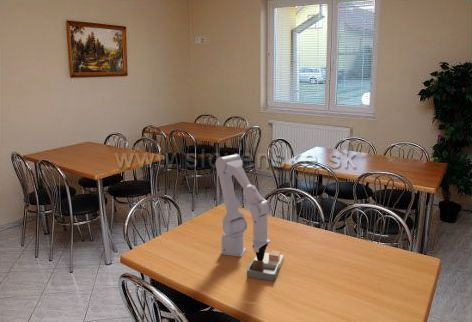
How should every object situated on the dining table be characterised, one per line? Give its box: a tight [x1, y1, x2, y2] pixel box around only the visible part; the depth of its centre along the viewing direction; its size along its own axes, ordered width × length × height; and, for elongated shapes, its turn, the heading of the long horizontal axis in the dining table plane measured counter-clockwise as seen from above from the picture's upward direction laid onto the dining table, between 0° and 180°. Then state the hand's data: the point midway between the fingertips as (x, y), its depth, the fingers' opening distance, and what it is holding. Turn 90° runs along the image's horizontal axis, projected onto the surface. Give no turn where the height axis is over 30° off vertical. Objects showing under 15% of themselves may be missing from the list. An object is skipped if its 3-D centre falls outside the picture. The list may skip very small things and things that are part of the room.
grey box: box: [246, 259, 280, 282], centre depth 159 cm, size 11×9×3 cm
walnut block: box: [252, 259, 264, 272], centre depth 160 cm, size 4×4×2 cm
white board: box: [253, 252, 285, 270], centre depth 167 cm, size 11×9×2 cm
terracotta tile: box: [269, 250, 281, 261], centre depth 166 cm, size 4×4×2 cm
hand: (260, 260), depth 164 cm, fingers closed
